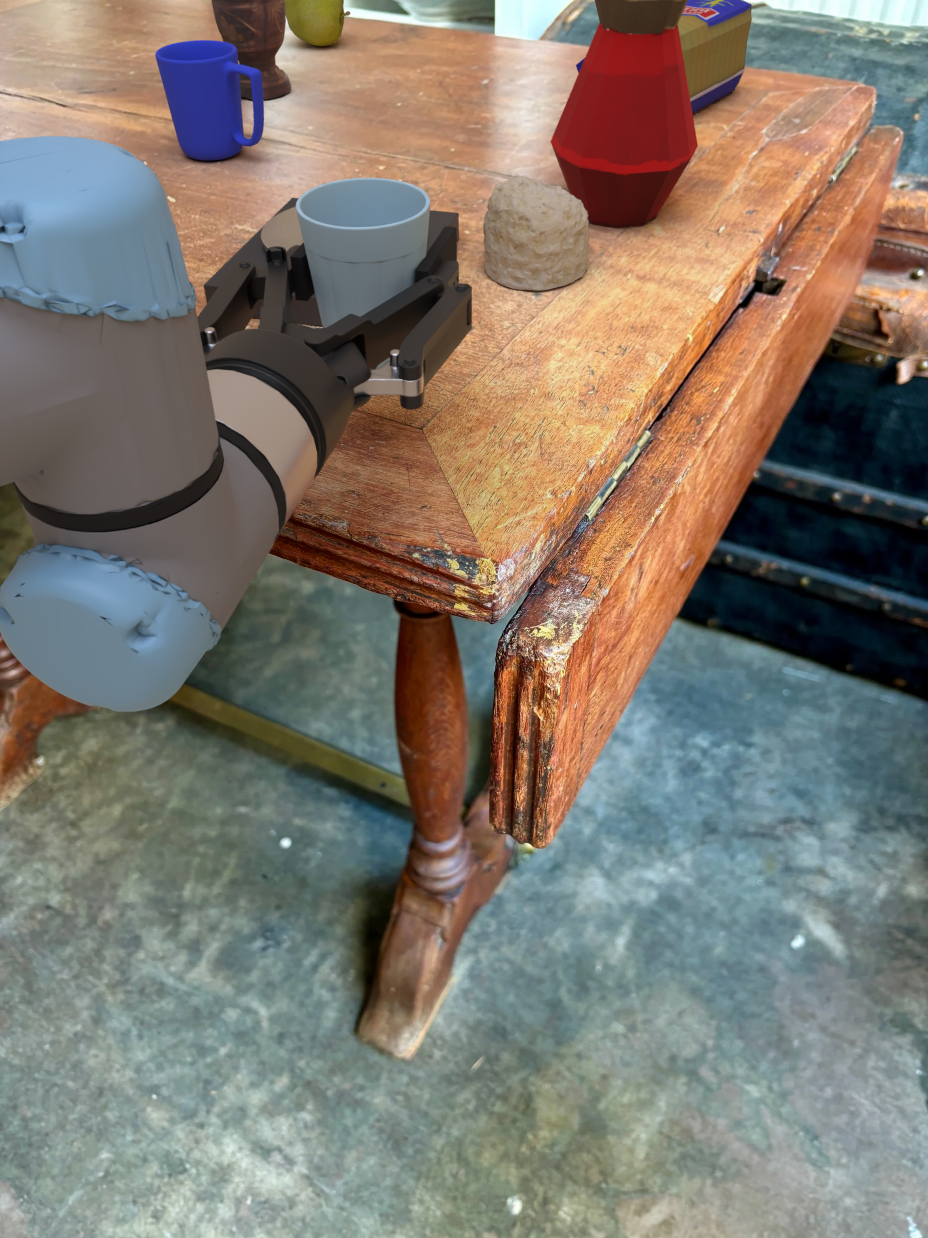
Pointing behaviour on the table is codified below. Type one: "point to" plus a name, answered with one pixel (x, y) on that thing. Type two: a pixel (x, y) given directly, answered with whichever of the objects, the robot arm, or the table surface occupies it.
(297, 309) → the scale
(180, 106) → the mug
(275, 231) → the scale platform
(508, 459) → the table surface
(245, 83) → the mortar and pestle
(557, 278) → the rock
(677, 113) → the red faceted vase
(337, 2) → the apple
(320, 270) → the cup
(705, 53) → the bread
